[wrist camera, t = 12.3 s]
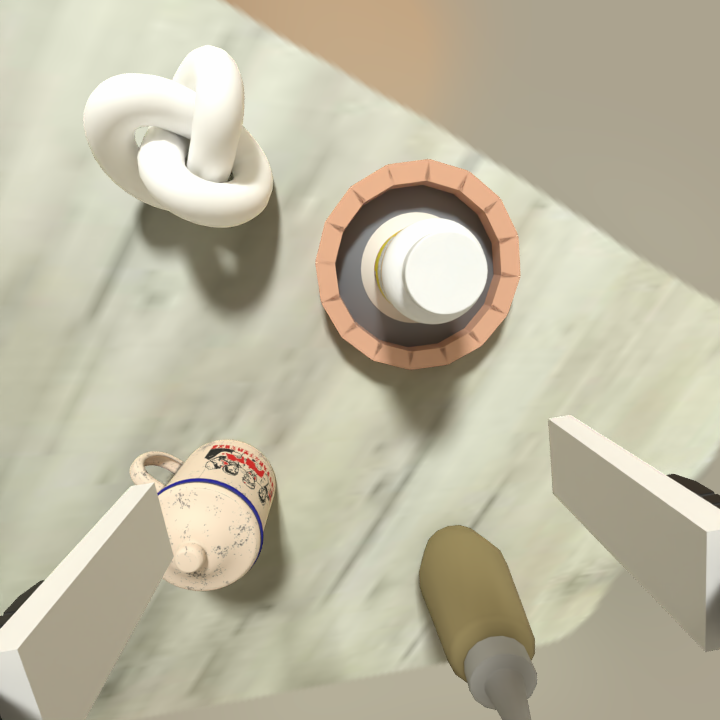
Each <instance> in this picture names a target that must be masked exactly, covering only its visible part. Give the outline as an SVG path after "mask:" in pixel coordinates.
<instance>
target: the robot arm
mask: <svg viewBox="0 0 720 720" xmlns="http://www.w3.org/2000/svg"><path fill="white" fill-rule="evenodd" d="M548 426H549V441H550V457H551V473H552V488H553V494H554V495H555V496H556V497H557V498H558V499H559V500H560V502H561V503H562V504H563V505H564V506H565V507H566V508H567V509H568V510H569V511H570V512H571V513H572V514H573V515H574V516H575V517H576V518H577V519H578V520H579V521H580V522H581V523H582V524H583V525H584V526H585V527H586V529H587V530H588V531H589V532H590V533H591V534H592V535H593V536H594V537H595V538H596V539H597V540H598V541H599V542H600V543H601V544H602V545H603V546H604V547H605V548H606V549H607V550H608V551H609V552H610V553H611V555H612V556H613V557H614V558H615V559H616V560H617V561H618V562H619V563H620V564H621V565H622V566H623V567H624V568H625V569H626V570H627V571H628V572H629V573H630V574H631V575H632V576H633V577H634V578H635V579H636V580H637V581H638V583H639V584H640V585H641V586H643V588H644V589H645V590H646V591H647V592H648V593H649V594H650V595H651V596H652V597H653V598H654V599H655V600H656V601H657V602H658V603H659V604H660V605H661V606H662V608H664V609H665V611H666V612H667V613H668V614H669V615H670V616H671V617H672V618H673V619H674V620H675V621H676V622H677V623H678V624H679V625H680V626H681V627H682V628H683V629H684V630H685V631H686V632H687V633H688V635H689V636H690V637H691V638H692V639H693V640H694V641H695V642H696V643H697V644H698V645H699V646H700V647H701V648H702V649H703V650H704V651H705V652H707V651H713V650H719V649H720V495H718V494H714V492H713V491H712V490H710V489H708V488H707V487H705V486H703V485H701V484H700V483H698V482H696V481H694V480H691V479H688V478H685V477H682V476H679V475H676V474H670V475H665V474H663V473H662V472H660V471H658V470H657V469H655V468H654V467H652V466H651V465H649V464H647V463H646V462H644V461H643V460H641V459H639V458H638V457H636V456H635V455H633V454H632V453H630V452H628V451H627V450H625V449H624V448H622V447H620V446H619V445H617V444H616V443H614V442H613V441H611V440H609V439H608V438H606V437H605V436H603V435H601V434H600V433H598V432H597V431H595V430H594V429H592V428H590V427H589V426H587V425H586V424H584V423H582V422H581V421H579V420H578V419H576V418H574V417H573V416H571V415H567V416H561V417H555V418H549V419H548ZM173 557H174V555H173V551H172V548H171V544H170V540H169V536H168V532H167V529H166V525H165V521H164V517H163V513H162V510H161V506H160V502H159V498H158V494H157V491H156V487H155V483H154V482H153V483H147V484H141V485H135V486H130V488H129V489H128V490H127V491H126V492H125V493H124V494H123V495H122V496H121V497H120V499H119V500H118V501H117V502H116V503H115V504H114V505H113V506H112V507H111V508H110V509H109V511H108V512H107V513H106V514H105V515H104V516H103V517H102V518H101V519H100V520H99V522H98V523H97V524H96V525H95V526H94V527H93V528H92V529H91V530H90V531H89V532H88V534H87V535H86V536H85V537H84V538H83V539H82V540H81V541H80V542H79V543H78V544H77V546H76V547H75V548H74V549H73V550H72V551H71V552H70V553H69V554H68V555H67V557H66V558H65V559H64V560H63V561H62V562H61V563H60V564H59V565H58V566H57V567H56V569H55V570H54V571H53V572H52V573H51V574H50V575H49V576H48V577H47V578H46V580H42V581H40V582H38V583H37V584H36V585H34V586H33V587H31V588H30V589H29V590H27V591H26V592H24V593H23V594H22V595H20V596H19V597H18V598H17V599H16V600H15V601H14V602H13V603H12V604H11V605H10V607H9V608H8V609H7V610H6V611H5V612H4V615H3V616H0V720H85V719H86V717H87V715H88V713H89V711H90V710H91V708H92V706H93V704H94V702H95V700H96V699H97V697H98V695H99V693H100V691H101V689H102V688H103V686H104V684H105V682H106V680H107V678H108V677H109V675H110V673H111V671H112V669H113V667H114V666H115V664H116V662H117V660H118V658H119V656H120V655H121V653H122V651H123V649H124V647H125V645H126V644H127V642H128V640H129V638H130V636H131V634H132V633H133V631H134V629H135V627H136V625H137V623H138V622H139V620H140V618H141V616H142V614H143V612H144V611H145V609H146V607H147V605H148V603H149V601H150V600H151V598H152V596H153V594H154V592H155V590H156V589H157V587H158V585H159V583H160V581H161V579H162V578H163V576H164V574H165V572H166V570H167V568H168V567H169V565H170V563H171V561H172V559H173Z"/></svg>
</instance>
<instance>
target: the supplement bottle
mask: <svg viewBox="0 0 720 720" xmlns="http://www.w3.org/2000/svg"><path fill="white" fill-rule="evenodd" d="M487 273H488V269H487V261H486V258H485V255H484V252H483V249H482V247H481V245H480V243H479V241H478V240H477V239H476V237H475V236H474V235H473V234H472V233H471V232H470V231H469V230H468V229H467V228H465V227H464V226H462V225H461V224H459V223H457V222H455V221H452V220H448V219H443V218H428V219H423V220H420V221H417V222H415V223H412V224H410V225H409V226H407V227H405V228H404V229H402V230H400V231H398V232H397V233H395V234H394V235H392V236H391V237H390V238H388V239H387V240H386V241H385V243H384V244H383V245H382V246H381V248H380V250H379V252H378V254H377V256H376V260H375V265H374V276H375V281H376V284H377V287H378V289H379V291H380V293H381V294H382V295H383V297H384V298H385V299H386V300H387V301H388V302H389V303H390V304H391V305H393V306H394V307H395V308H396V309H397V310H398V311H399V312H400V313H402V314H403V315H404V316H406V317H408V318H409V319H411V320H414V321H417V322H420V323H424V324H441V323H446V322H449V321H452V320H454V319H456V318H458V317H460V316H462V315H463V314H464V313H466V312H467V311H468V310H469V309H470V308H471V307H472V306H473V305H474V304H475V303H476V301H477V300H478V298H479V297H480V295H481V293H482V292H483V290H484V287H485V284H486V280H487Z"/></svg>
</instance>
